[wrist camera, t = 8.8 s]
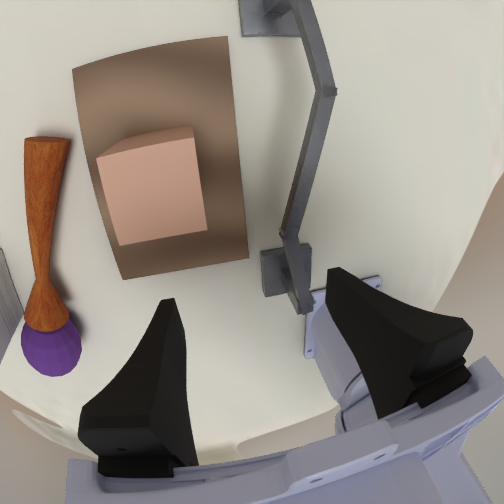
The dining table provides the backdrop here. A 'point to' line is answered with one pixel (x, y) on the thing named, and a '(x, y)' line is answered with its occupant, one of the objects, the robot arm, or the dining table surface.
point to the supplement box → (7, 307)
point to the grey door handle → (293, 254)
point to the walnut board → (162, 118)
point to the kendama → (46, 263)
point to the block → (153, 186)
